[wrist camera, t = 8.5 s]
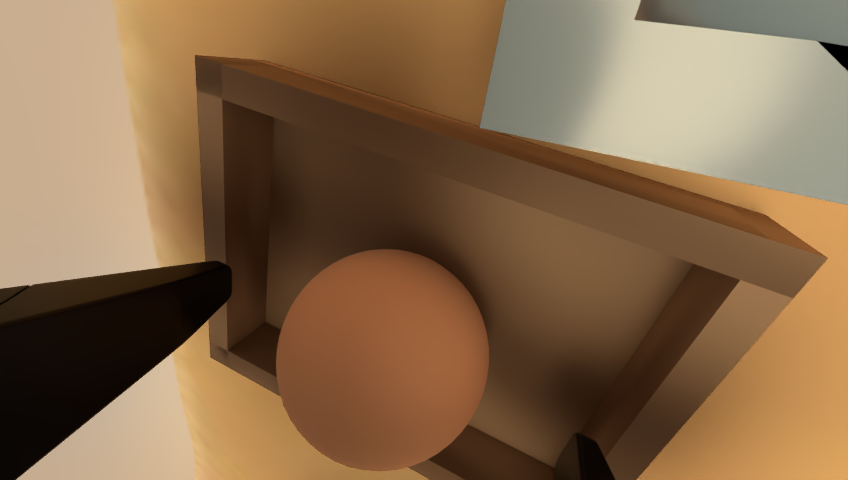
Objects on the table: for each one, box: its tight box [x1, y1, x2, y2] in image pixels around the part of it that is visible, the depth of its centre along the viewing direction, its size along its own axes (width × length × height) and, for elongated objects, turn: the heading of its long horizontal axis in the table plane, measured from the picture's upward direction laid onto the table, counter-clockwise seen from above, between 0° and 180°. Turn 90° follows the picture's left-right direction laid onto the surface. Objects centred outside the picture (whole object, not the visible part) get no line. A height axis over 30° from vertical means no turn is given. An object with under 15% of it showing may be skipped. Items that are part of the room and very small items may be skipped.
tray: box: [195, 55, 828, 480], centre depth 11 cm, size 10×13×2 cm
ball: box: [276, 249, 489, 471], centre depth 9 cm, size 5×5×5 cm
